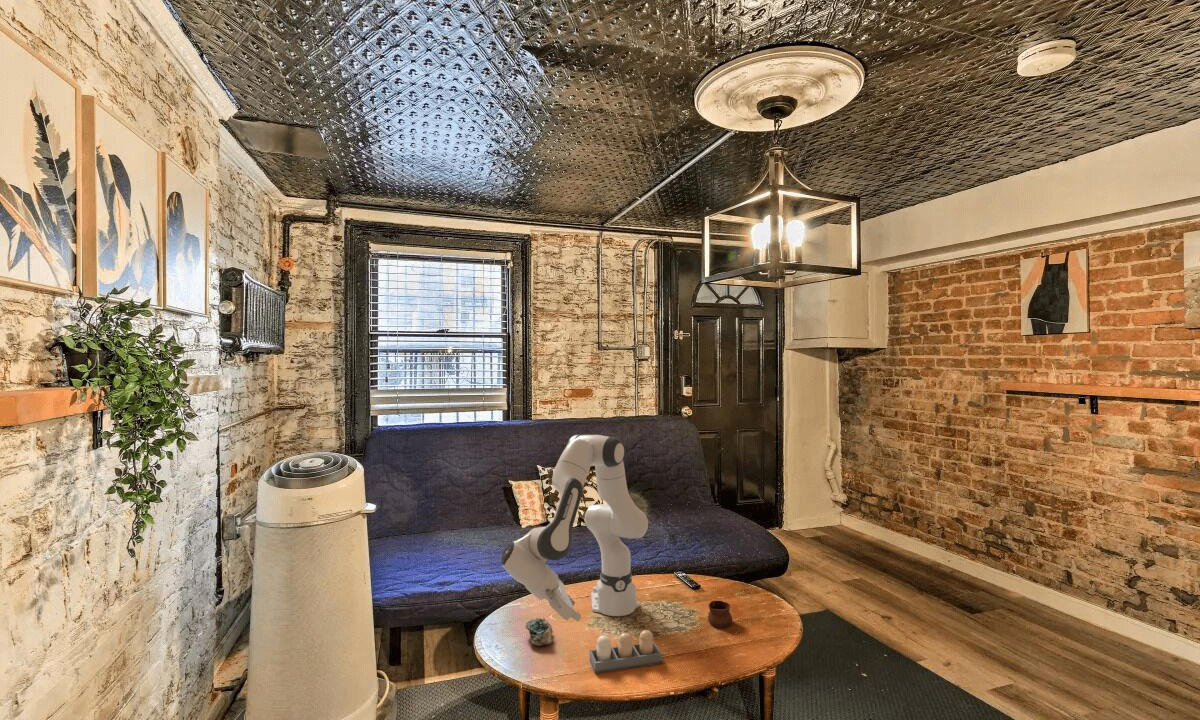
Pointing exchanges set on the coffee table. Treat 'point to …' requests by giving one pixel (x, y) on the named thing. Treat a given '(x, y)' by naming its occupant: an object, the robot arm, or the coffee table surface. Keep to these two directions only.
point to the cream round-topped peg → (603, 649)
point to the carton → (629, 654)
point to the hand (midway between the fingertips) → (576, 611)
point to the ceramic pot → (719, 614)
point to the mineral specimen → (539, 631)
